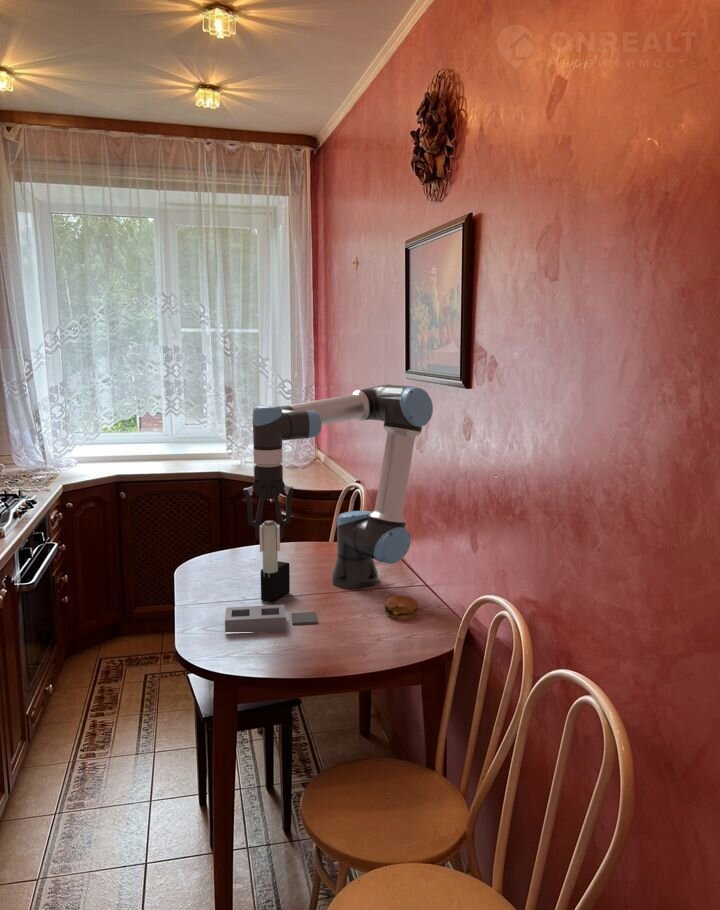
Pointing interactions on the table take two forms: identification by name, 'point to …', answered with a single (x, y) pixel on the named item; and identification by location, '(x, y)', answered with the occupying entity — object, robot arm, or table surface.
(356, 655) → the table surface
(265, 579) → the electronic device
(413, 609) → the burger
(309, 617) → the coaster
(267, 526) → the plug
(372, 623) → the table surface
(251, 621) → the gray cinder block
